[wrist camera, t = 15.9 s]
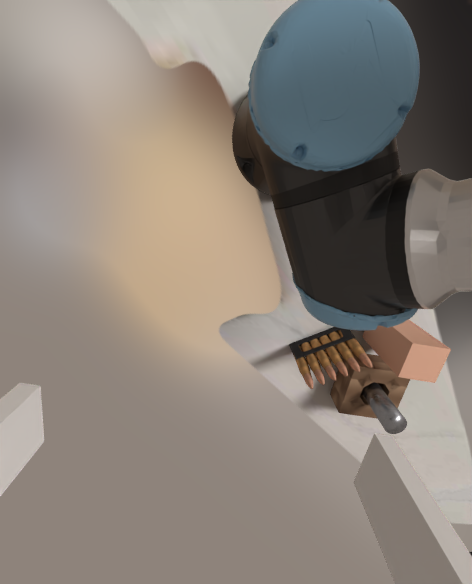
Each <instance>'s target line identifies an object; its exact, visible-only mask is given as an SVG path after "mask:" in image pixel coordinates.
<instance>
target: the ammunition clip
mask: <svg viewBox="0 0 472 584" xmlns="http://www.w3.org/2000/svg"><path fill="white" fill-rule="evenodd" d="M345 343H346V344H345ZM334 345H335V347H336V348H337V349H336V348H335V347H334ZM290 348H291V350H292V352H293V355H294V357H295V360H296V362H297V365H298V368H299V370H300V373H301V374H302V376H303V378H304V380H305V382H306V384H307V385H308V386H309V387H310V388H311V389H313V379H312V376H311V373H310V368H311V370H312V371H313V373H314V374H315V376H316V378H317V380H318V381H319V382H320V383H321V384H322V385H324V383H325V380H324V375H323V373H322V370H321V366H320V364H321V365H322V367H323V368H324V369H325V371H326V372H327V374H328V375H329V377H330V378H331V379H332V380H334V381H336V374H335V371H334V369H333V366H332V364H331V361H332V362H333V363H334V364H335V366H336V367H337V368H338V370H339V371H340V372H341V373H342V374H343V375H344V376H346V377H347V376H348V372H347V368H346V366H345V365H344V363H343V361H342V358H341V356H342V357H343V358H344V359H345V360H346V361H347V363H348V364H349V365H350V366H351V367H352V368H353V369H354V370H355V371H357V372H360V367H359V365H358V363H357V361H356V360H355V358H354V356H353V353H354V354H355V355H356V356H357V357H358V358H359V359H360V360H361V361H362V362H363V363H364V364H365V365H366V366H368V367H369V368H372V363H371V361H370V359H369V357H368V356H367V354H366V353H365V351H364V349H363V348H362V346H361V345H360V344H359V343H358V341H357V340H356V339H355V337H354V335H353V334H352V333H351V331H350V330H348V329H342V328H338V327H333V328H331V329H328V330H325V331H323V332H320V333H318V334H315V335H312V336H310V337H307V338H304V339H302V340H299V341H296V342H294V343H291V344H290ZM324 349H325V350H324ZM350 349H351V350H350ZM325 351H326V352H327V353H326V352H325ZM351 351H352V352H353V353H352V352H351ZM339 353H340V354H341V356H340V354H339ZM315 354H316V355H315ZM316 356H317V357H316ZM305 357H306V358H305ZM329 358H330V359H331V361H330V359H329ZM306 359H307V360H306ZM318 360H319V361H318ZM319 362H320V363H319ZM308 364H309V366H310V368H309V366H308Z"/></svg>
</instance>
